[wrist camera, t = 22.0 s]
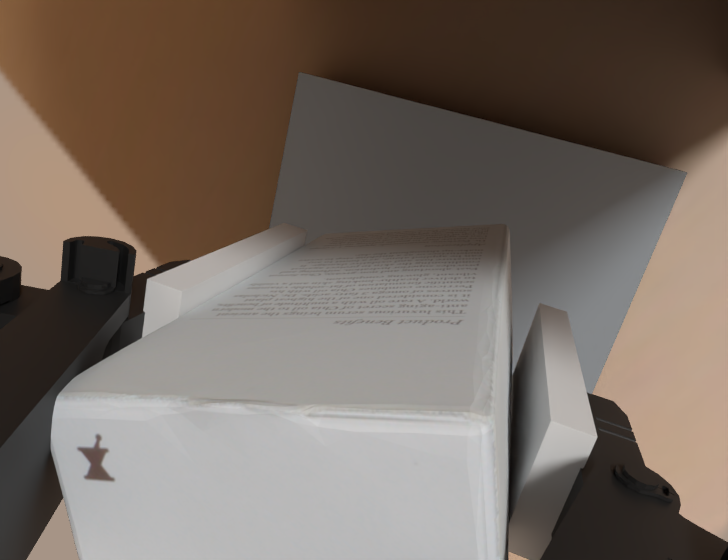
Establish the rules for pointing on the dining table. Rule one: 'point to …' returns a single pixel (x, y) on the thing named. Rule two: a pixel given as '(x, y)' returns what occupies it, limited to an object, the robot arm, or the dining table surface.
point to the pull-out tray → (481, 199)
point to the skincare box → (308, 412)
